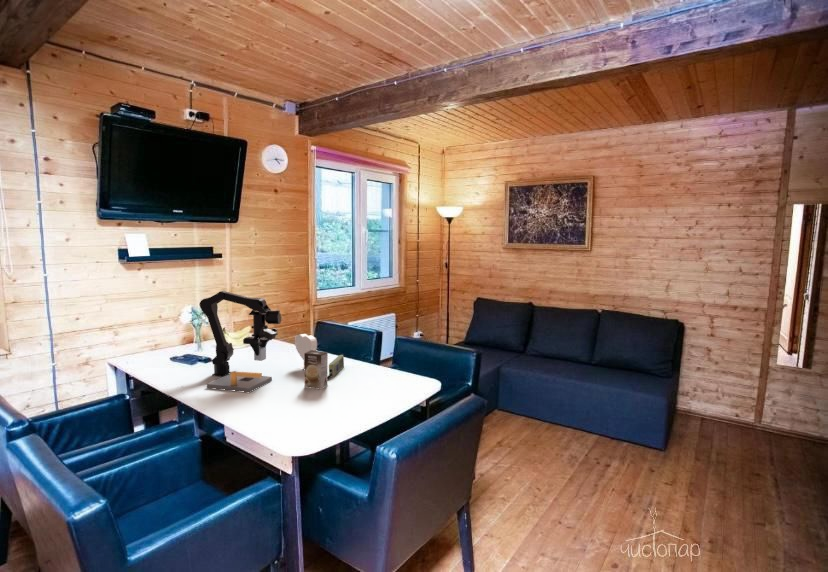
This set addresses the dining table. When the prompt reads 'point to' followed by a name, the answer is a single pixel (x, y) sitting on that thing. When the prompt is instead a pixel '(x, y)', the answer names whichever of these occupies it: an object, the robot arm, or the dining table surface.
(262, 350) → the plug
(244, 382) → the socket board
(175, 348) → the dining table surface
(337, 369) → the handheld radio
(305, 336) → the heart sculpture
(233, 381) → the long orange beam
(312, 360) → the coffee box
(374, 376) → the dining table surface
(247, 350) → the dining table surface
